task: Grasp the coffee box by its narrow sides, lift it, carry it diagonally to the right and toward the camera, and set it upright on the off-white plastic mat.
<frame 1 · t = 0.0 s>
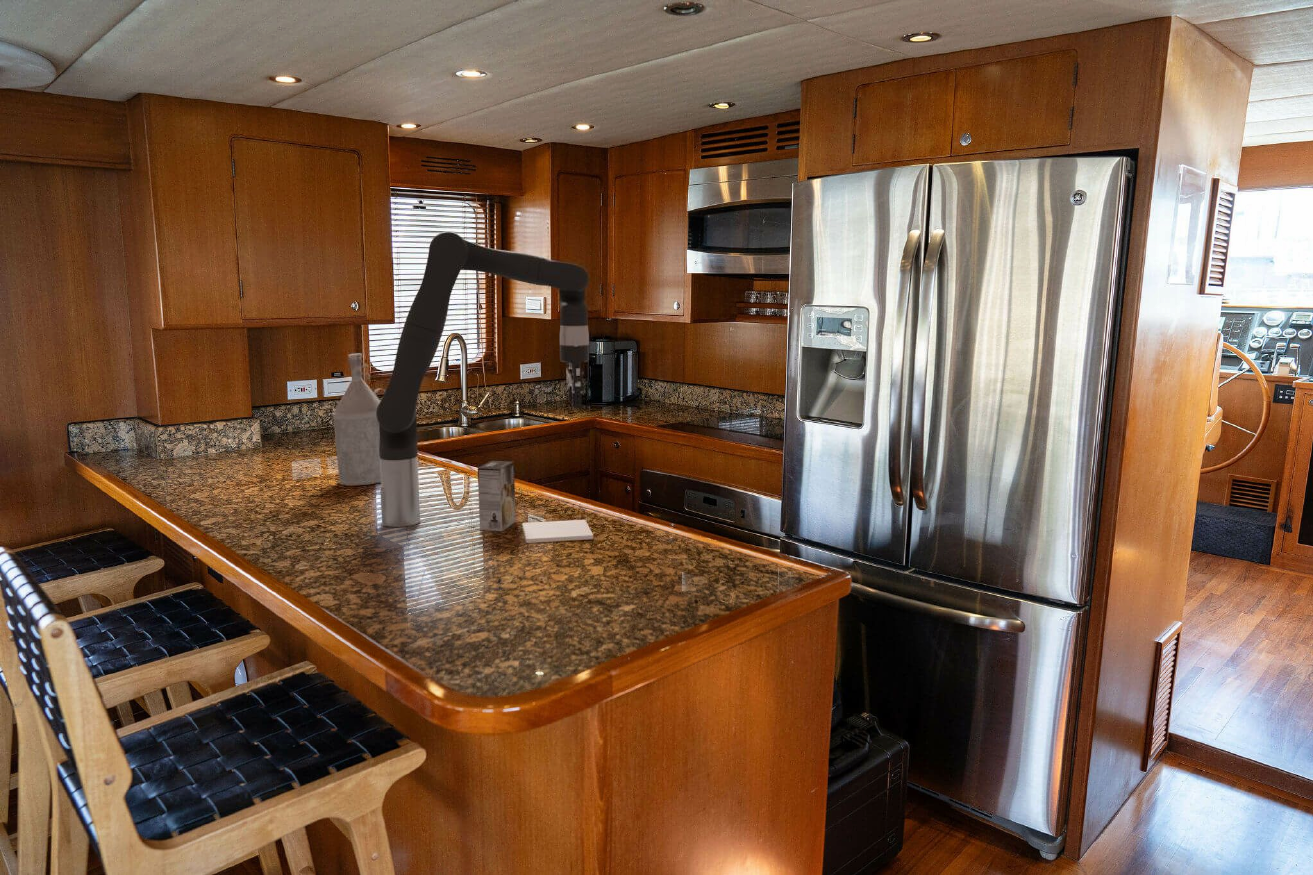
hand: (575, 405, 225), 29 cm above the table, fingers open, 8 cm apart
grey bottle: (366, 481, 266), on the table
coffee box: (498, 526, 218), on the table
mat: (556, 532, 212), on the table
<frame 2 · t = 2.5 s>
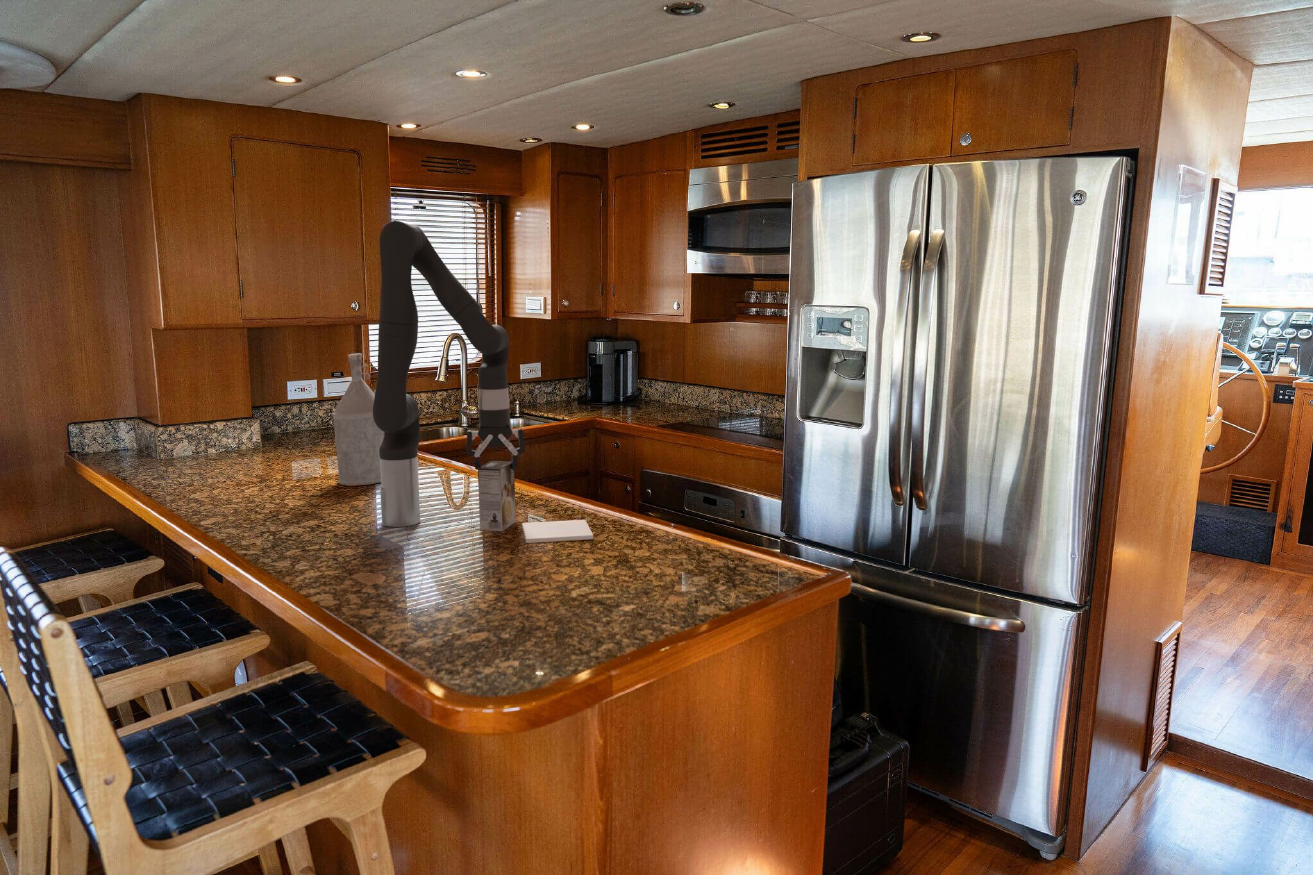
hand: (496, 470, 215), 14 cm above the table, fingers open, 8 cm apart
coffee box: (498, 526, 218), on the table, touching gripper
everything else where it was.
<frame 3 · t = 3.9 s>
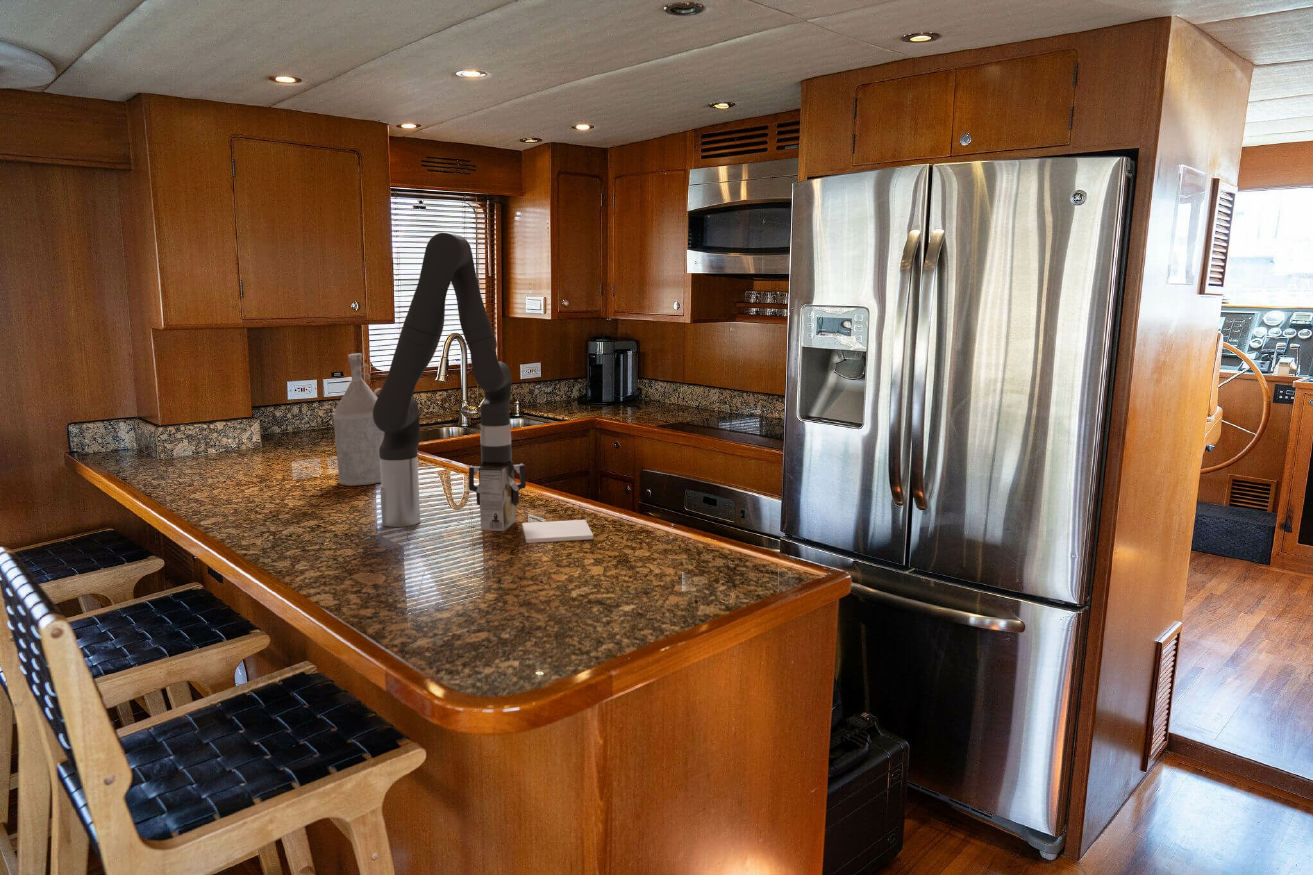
hand: (498, 505, 217), 5 cm above the table, fingers closed on coffee box, 8 cm apart
coffee box: (498, 526, 218), on the table, touching gripper
everything else where it was.
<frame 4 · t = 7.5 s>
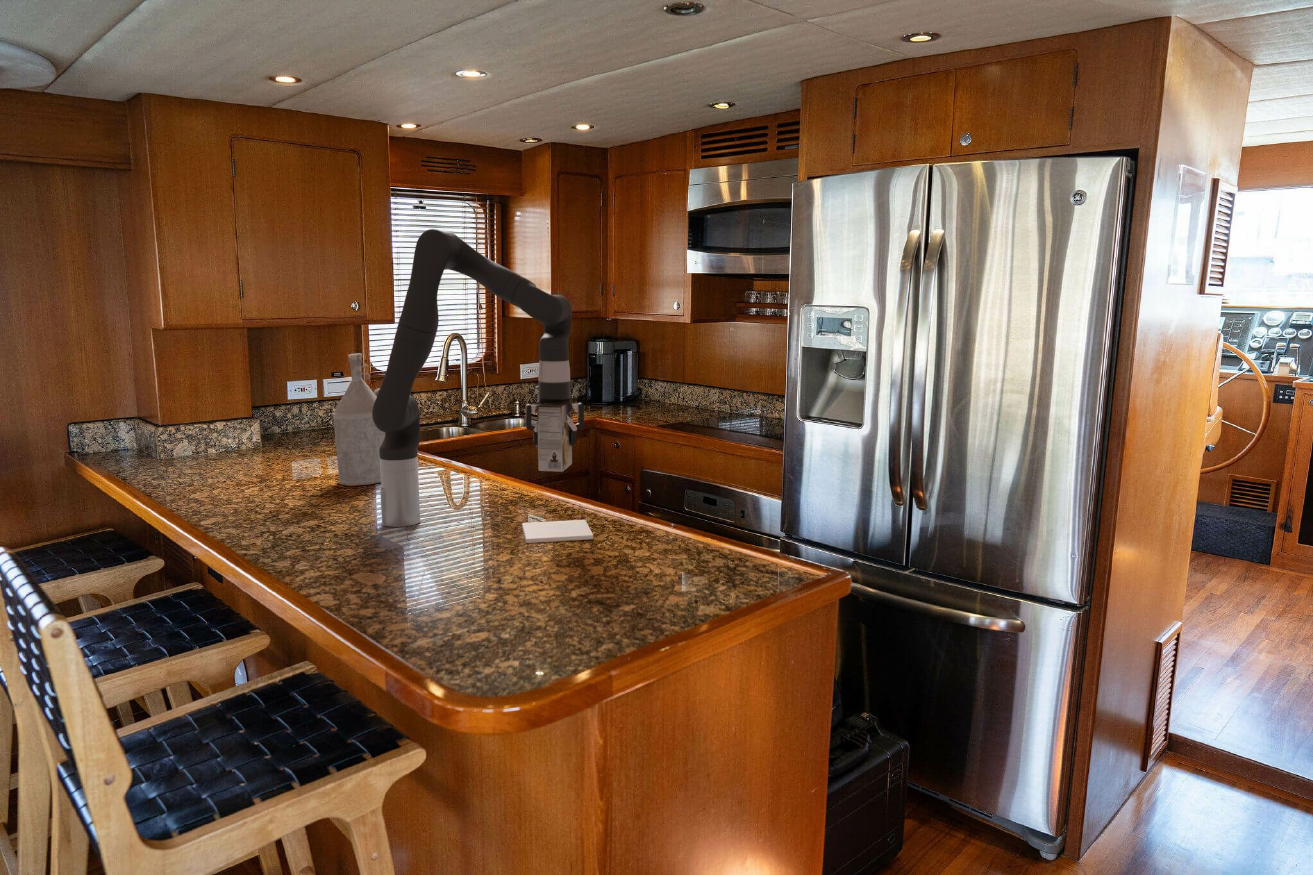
hand: (555, 446, 208), 22 cm above the table, fingers closed on coffee box, 8 cm apart
coffee box: (555, 468, 209), point 16 cm above the table, touching gripper
everything else where it was.
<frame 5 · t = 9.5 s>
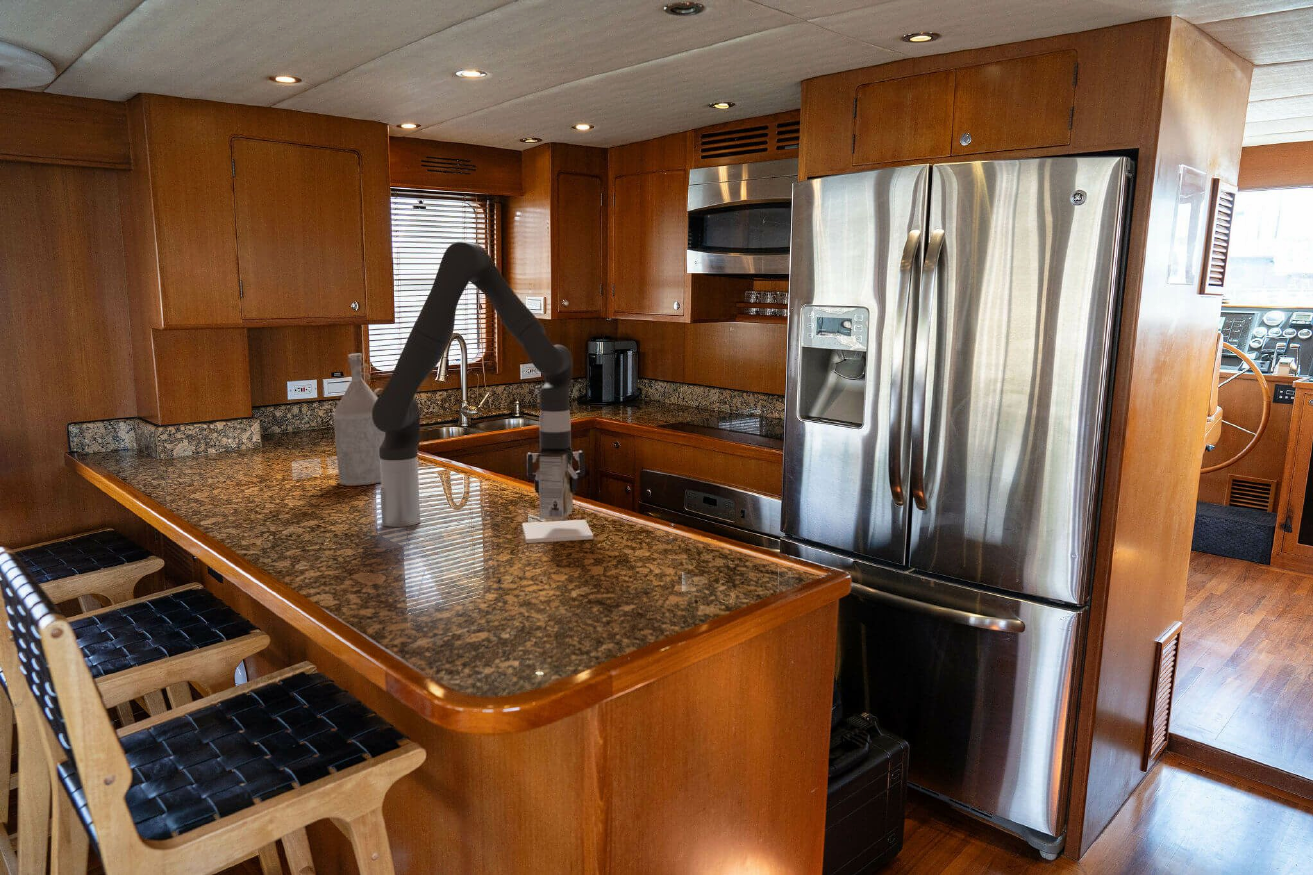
hand: (556, 493, 210), 10 cm above the table, fingers closed on coffee box, 8 cm apart
coffee box: (556, 515, 211), point 4 cm above the table, touching gripper
everything else where it was.
when the fingers open (8 cm above the table, at t = 11.2 s): coffee box drops 1 cm, resting on mat.
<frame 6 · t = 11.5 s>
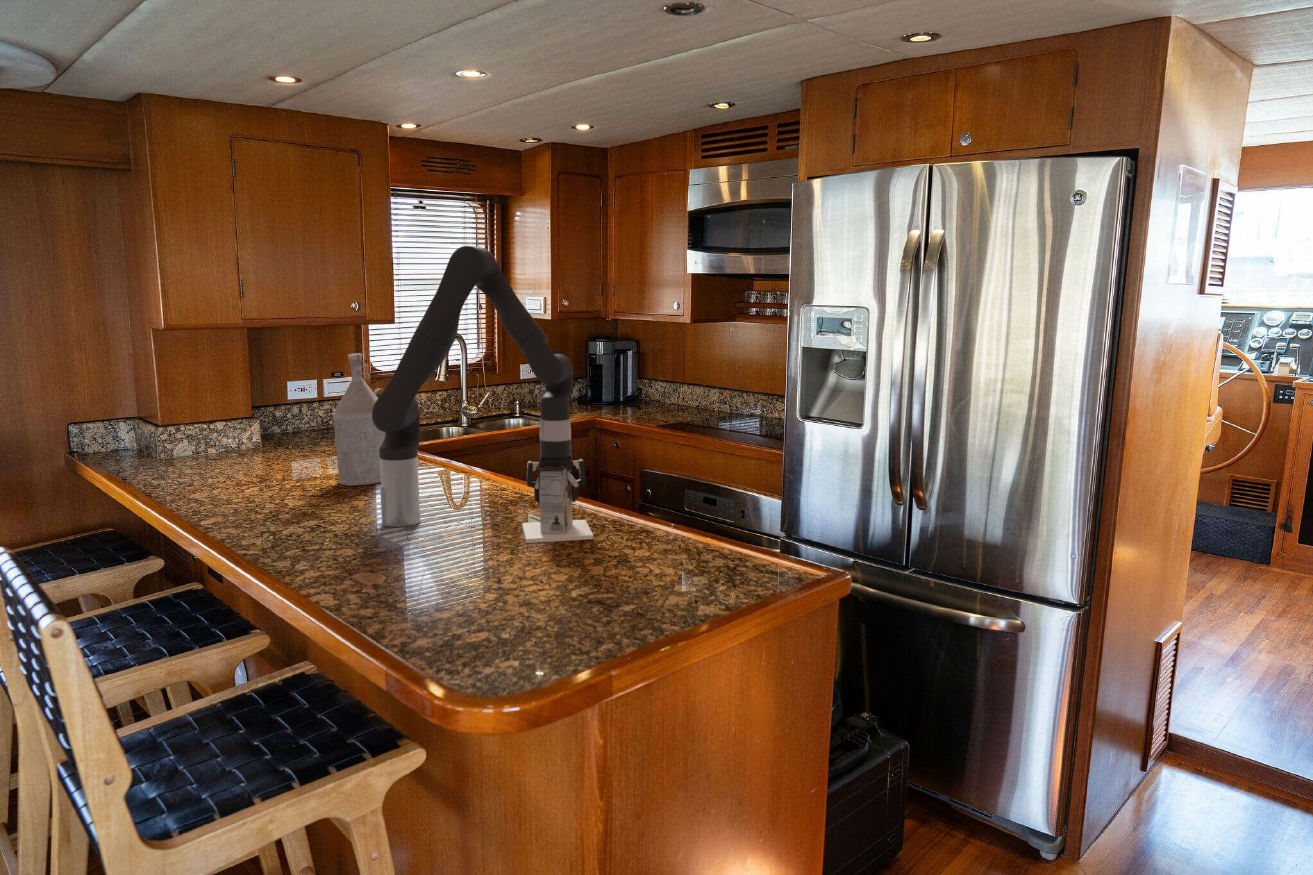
hand: (556, 502, 211), 8 cm above the table, fingers open, 8 cm apart
coffee box: (556, 529, 212), point 1 cm above the table, touching mat
everything else where it was.
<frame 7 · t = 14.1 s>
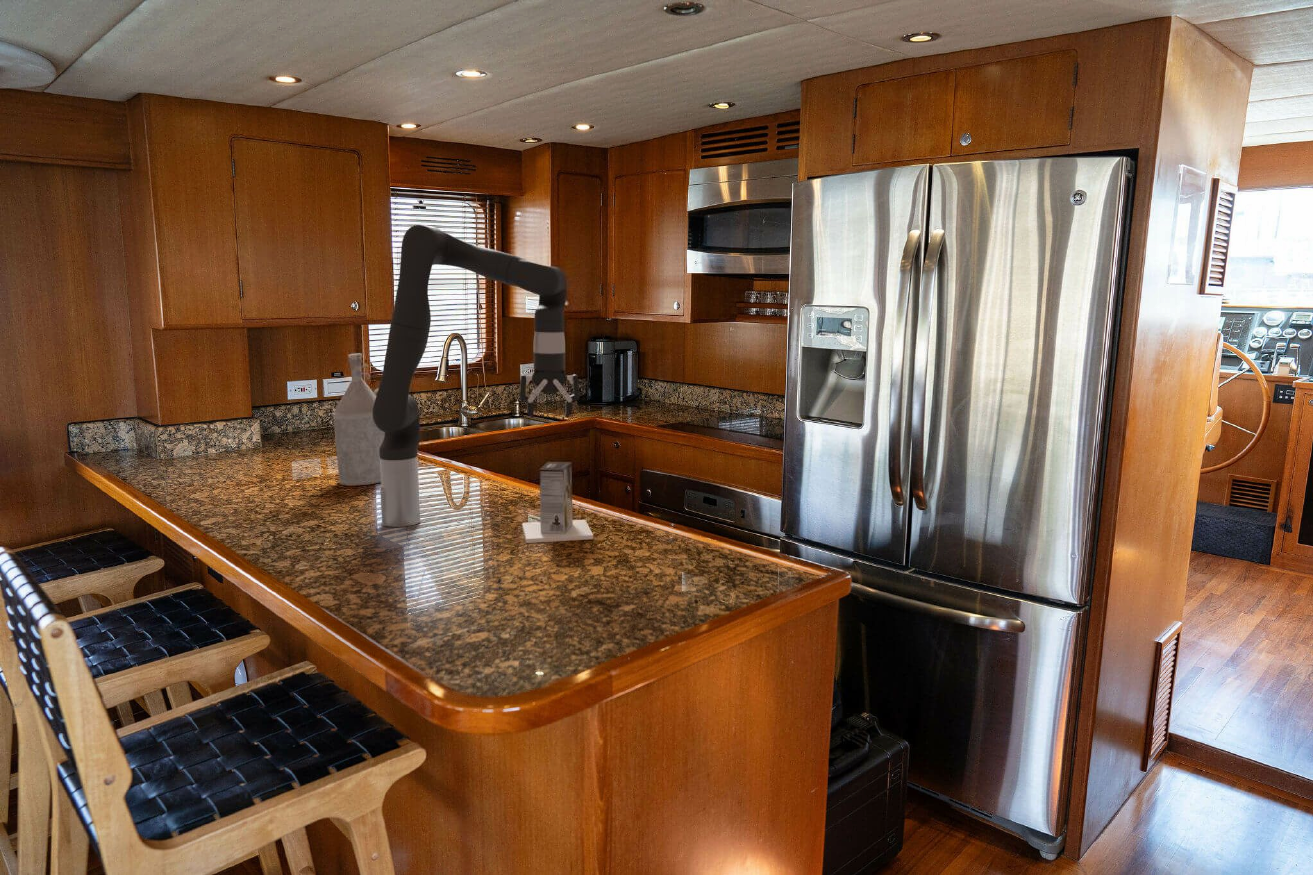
hand: (549, 417, 209), 29 cm above the table, fingers open, 8 cm apart
nothing on the table moved.
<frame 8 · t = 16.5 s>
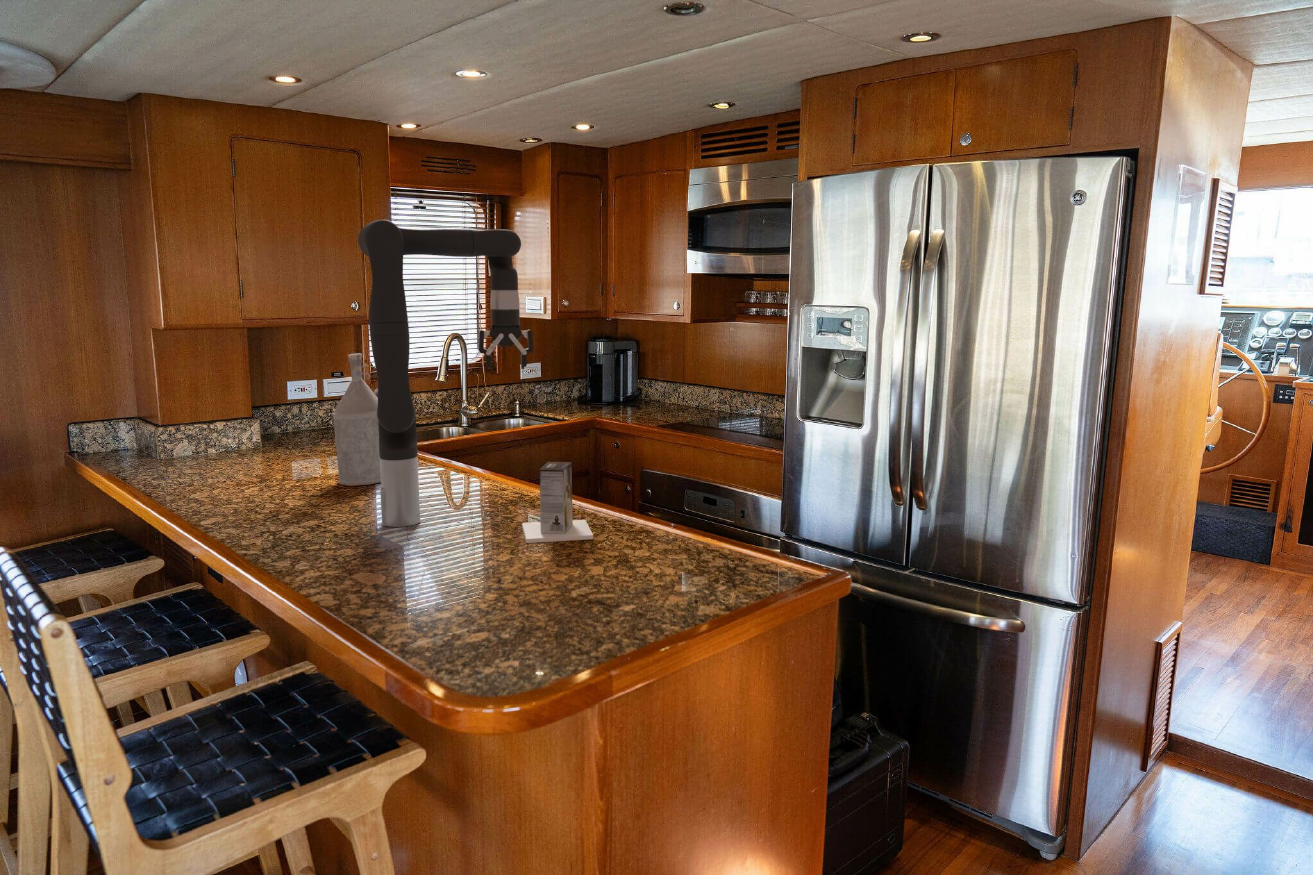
hand: (506, 369, 229), 38 cm above the table, fingers open, 8 cm apart
nothing on the table moved.
at the end: coffee box inside the target area on the mat (0.1 cm from its centre), point 0.8 cm above the mat's base; coffee box tilted 0°; the gripper is holding nothing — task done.
